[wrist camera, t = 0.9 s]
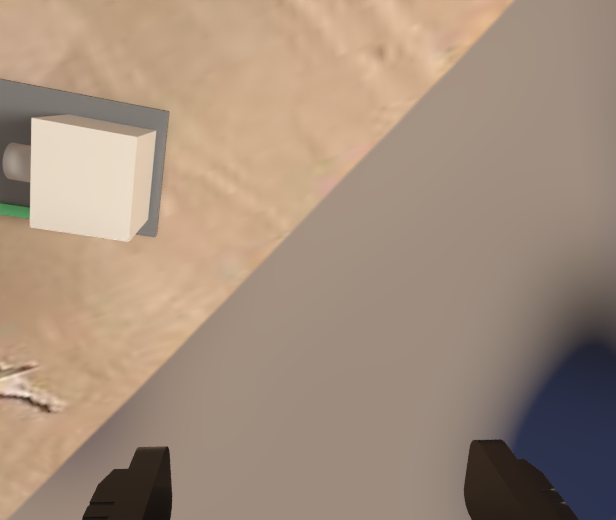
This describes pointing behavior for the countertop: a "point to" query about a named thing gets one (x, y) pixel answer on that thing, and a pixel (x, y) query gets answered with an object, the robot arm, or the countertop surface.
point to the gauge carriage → (85, 175)
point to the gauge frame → (50, 102)
